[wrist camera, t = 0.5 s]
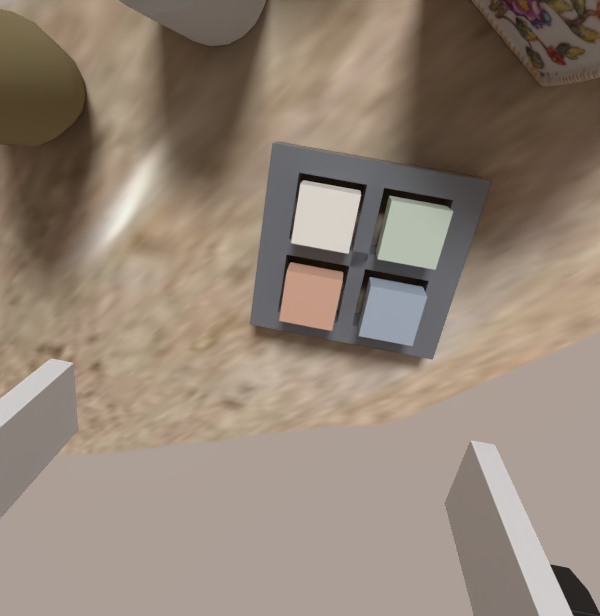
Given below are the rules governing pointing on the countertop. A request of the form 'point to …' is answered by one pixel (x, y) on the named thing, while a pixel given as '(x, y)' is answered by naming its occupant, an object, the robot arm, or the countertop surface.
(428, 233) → the sage key
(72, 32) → the countertop surface
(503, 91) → the countertop surface
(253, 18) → the can
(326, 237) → the cream key
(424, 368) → the countertop surface
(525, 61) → the decorative jar
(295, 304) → the terracotta key
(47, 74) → the squeeze bottle
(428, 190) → the keypad
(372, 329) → the slate key
